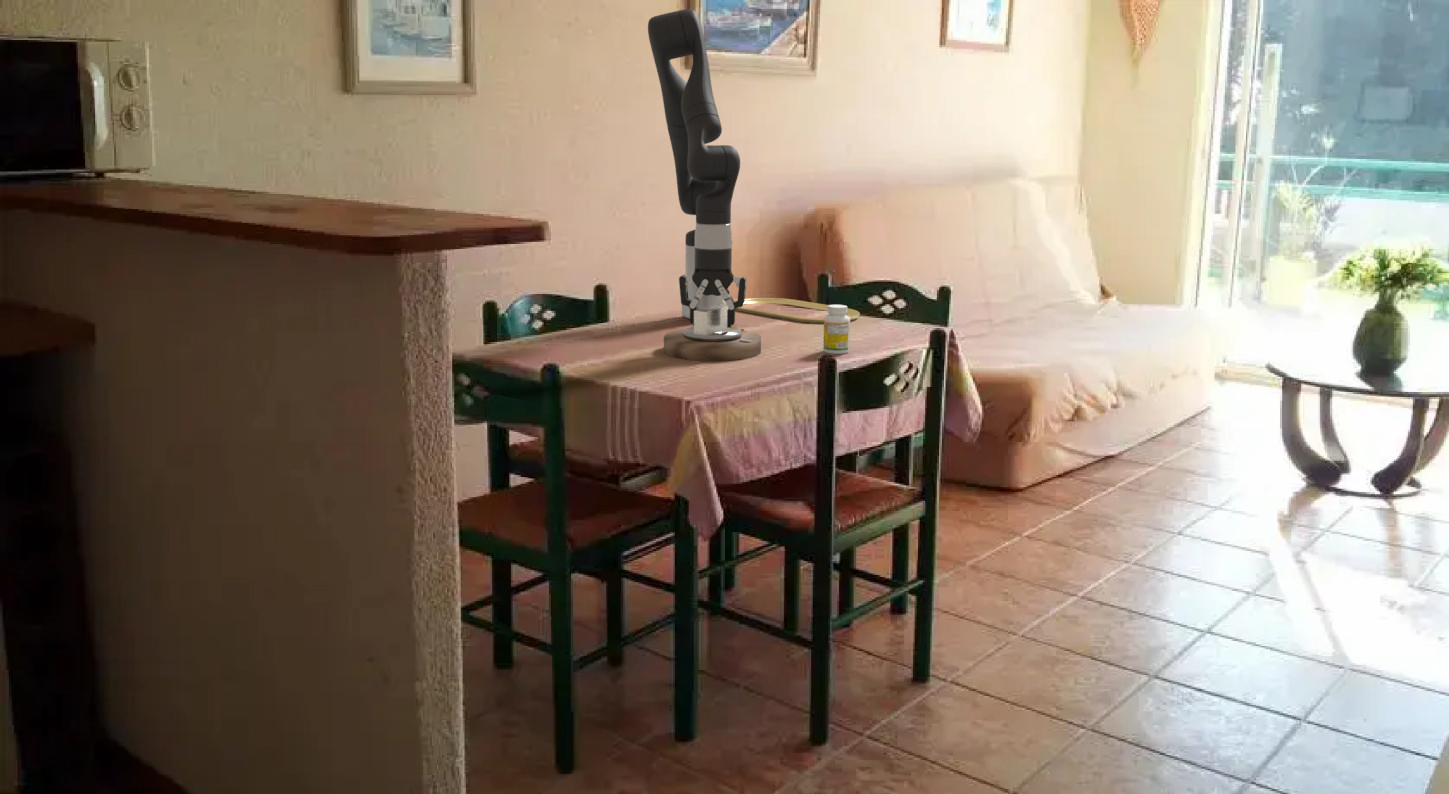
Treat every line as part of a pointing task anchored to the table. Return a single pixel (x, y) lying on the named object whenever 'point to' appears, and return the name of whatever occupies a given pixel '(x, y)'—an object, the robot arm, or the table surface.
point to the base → (712, 347)
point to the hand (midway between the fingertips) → (712, 326)
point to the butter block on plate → (712, 325)
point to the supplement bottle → (836, 330)
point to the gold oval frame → (791, 302)
